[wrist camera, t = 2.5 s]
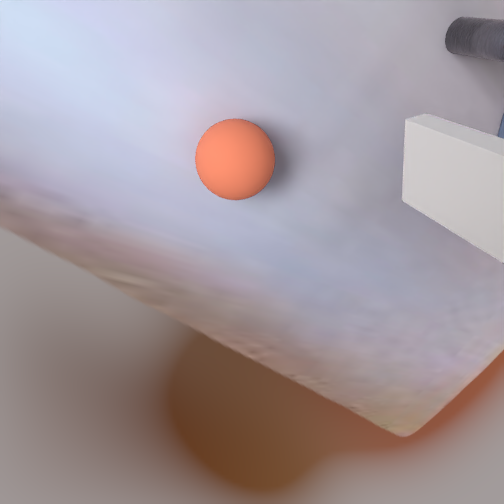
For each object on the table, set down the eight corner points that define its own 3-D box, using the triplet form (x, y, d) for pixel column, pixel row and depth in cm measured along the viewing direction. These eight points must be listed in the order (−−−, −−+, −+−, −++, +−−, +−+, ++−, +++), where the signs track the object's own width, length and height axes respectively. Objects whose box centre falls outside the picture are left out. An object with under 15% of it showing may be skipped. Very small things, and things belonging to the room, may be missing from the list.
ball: (191, 188, 33) (211, 219, 29) (183, 115, 30) (203, 137, 26) (258, 177, 35) (287, 204, 30) (257, 106, 32) (288, 125, 28)
